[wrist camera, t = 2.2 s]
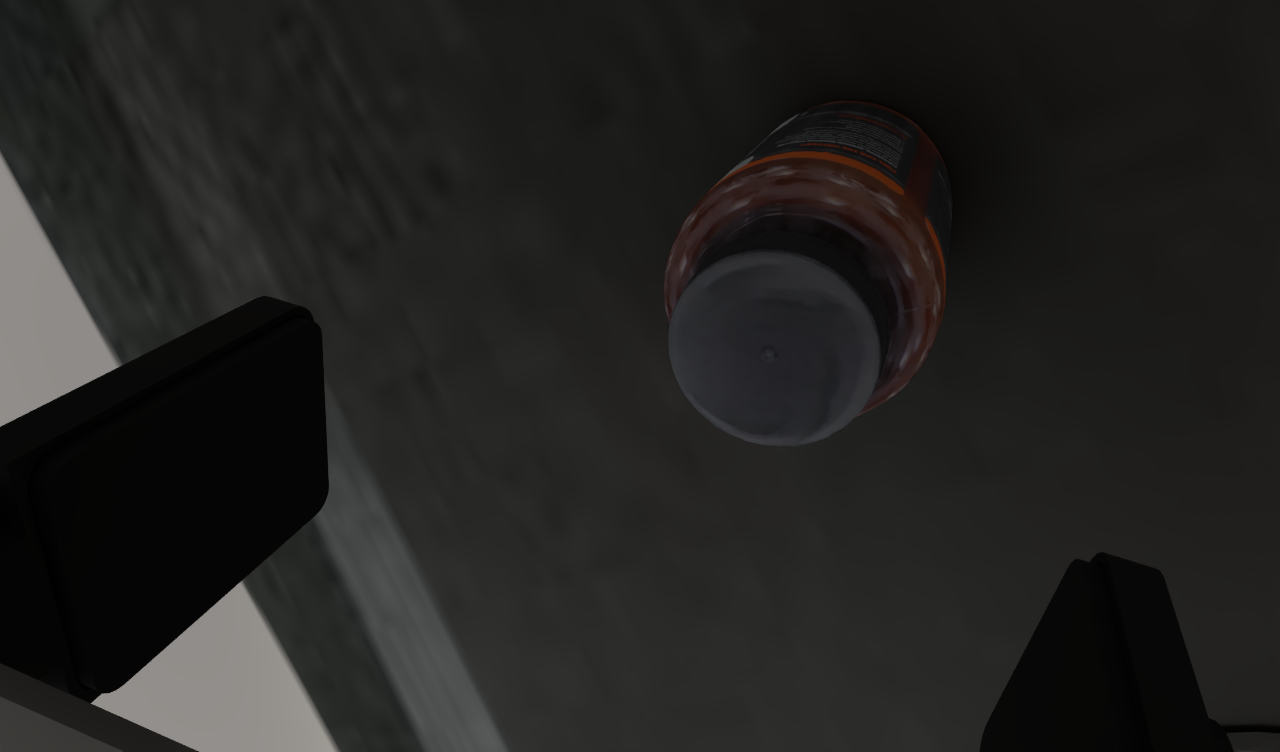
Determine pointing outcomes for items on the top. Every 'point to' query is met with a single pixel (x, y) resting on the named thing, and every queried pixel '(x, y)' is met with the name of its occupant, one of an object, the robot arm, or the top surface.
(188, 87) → the top surface
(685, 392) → the supplement bottle
